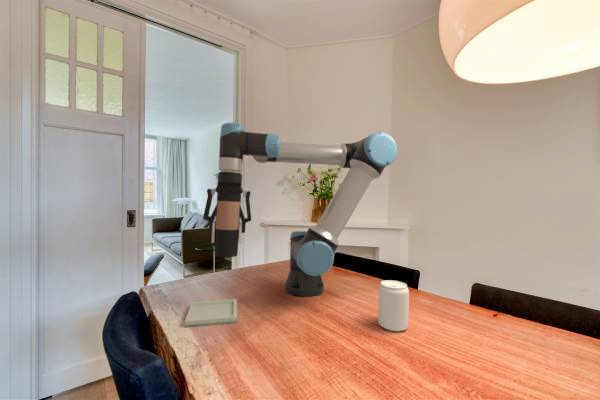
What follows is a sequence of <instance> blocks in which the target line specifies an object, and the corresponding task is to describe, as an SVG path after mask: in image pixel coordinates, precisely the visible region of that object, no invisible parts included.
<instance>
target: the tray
mask: <svg viewBox="0 0 600 400" xmlns="http://www.w3.org/2000/svg"><path fill="white" fill-rule="evenodd" d="M237 300H238V299H237V298H232V299H217V300H205V301H192V302H191V305H190V307H189V309H188V312H187V314H186V316H185V317H186V318H185V320H184V328H192V327H193V328H194V327H202V326H203V327H204V326H215V325H225V324H236V323H238V304H237V303H238V301H237Z"/></svg>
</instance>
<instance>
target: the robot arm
mask: <svg viewBox="0 0 600 400" xmlns="http://www.w3.org/2000/svg"><path fill="white" fill-rule="evenodd" d="M220 128H221V129H220V134H219V135H220V136H219V151H218V152H219V153H218V154H219V155H218V171H219V172H218V173H217V186H216V188H208V189H207V190H206V193H207V199H206V203H205V208H204V211H203V212H204V213H203V217H202V218H203V220H205V221H207V222H208V232H209V233H211V244H215V224H216V221H214V220H216V213H217V204H215V207H214V209H213V211H212V213H211V215H210V211H211V207H212V202H213V198H214V197H213V196H215V194H218V193H226V194H240V195H241V196H242V194H243V197H244V198H245V208H246V216H247V217H245V214H244V212H243V209H242V207H241V206H240V209H239V215H240V224H239V241H238V244H241V243H242V234H244V233H245V232H246V223H249V222H251V221H252V213H251V203H250V197H251V191H249V190H243V186H242V183H243V175H242V172H243V166H244V156H252V158H253V160H255V162H258V163H260V164H261V163H262V164H263V163H264V164H265V163H286V164H287V163H291V164H294V163H295V164H307V165H310V164H311V165H329V166H330V165H331V166H338V167H339V168H341V169H349V170H348V172H347V173H346V175H345V176H344V178H343V180H342V182H341V183H340V185H339V187H338V188H337V190H336V192H335V193H334V194H333V197H332V198H331V200H330V201H329V202H328V203H329V204H328V205H327V206H326V208H325V210H324V211H323V213H322V215H321V216H320V218H319V219H318V221H317V223H316V225H314V226H310V227H309V228H308V229H307V230H306V231H303V230H302V231H296V230H295V231H294V230H293V231H292V232H291V233H290V237H289V241H290V248H289V249H290V250H289V251H290V252H289V255H290V256H289V270H288V271H289V272H288V275H287V278H286V280H285V281H286V282H285V285H284V286H285V287H284V289H285V290H284V291H285V293H288V294H289V295H292V296H297V297H314V296H319V295H321V294H324V290H325V284H324V280H323V277H322V275H324V274H326V273H327V272H328V271H330V269H331V268H332V267H333V265H334V261H335V255H334V254H335V252H336V250H337V249H338V247H339V240H338V239H339V236H341V234H342V231H343V230H344V228H345V226H346V225H347V223H348V222H349V220H350V219H351V216H352V215H353V213H354V212H355V210H356V209H357V207H358V205H359V203H360V202H361V200H362V198H363V197H364V195H365V194H366V191H367V190H368V188H369V186H370V184H371V183H372V181H374V180H376V179H380V177H381V175H382V173H383V172H384V170H385V168H387V167H389V166H390V165H391V164H392V163H394V161H395V160H396V158H397V156H398V147H397V143H396V140H395V139H394V138H393V137H392V136H391V135H390V134H389V133H387V132H383V131H378V132H374V133H373V132H372V133H370V134H368V136H366V137H364V138H363V139H361V140H359V141H356V142H351V143H344V142H343V143H341V144H340V145H336V144H335V145H331V144H330V145H329V144H314V143H313V144H312V143H301V142H300V143H299V142H298V143H297V142H282V140H281V137H280V136H279V135H278V134H273V133H261V132H249V131H246V130H245V126H244V125H243V124H240V123H235V122H226V123H223V124H222V125H221V127H220Z"/></svg>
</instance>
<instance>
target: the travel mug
mask: <svg viewBox="0 0 600 400" xmlns="http://www.w3.org/2000/svg"><path fill="white" fill-rule="evenodd" d="M241 201H242V194H241V195H240V194H226V193H216V205H217V213H216V217H215V222H216V224H215V242H214V256H215V257H217V258H233V257H234V258H235V257H237V256H238V250H239V224H240V223H241V218H240V215H239V209H240V206H241V203H242V202H241Z"/></svg>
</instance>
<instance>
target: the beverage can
mask: <svg viewBox="0 0 600 400" xmlns="http://www.w3.org/2000/svg"><path fill="white" fill-rule="evenodd" d="M409 299H410V290H409V288H408V284H407V283H406V282H402V281H399V280H391V279H388V280H387V279H386V280H382V281H380V285H379V286H378V310H377V311H378V312H377V313H378V315H377V323H378V324H379V326H380V327H382V328H384V329H386V330H388V331H391V332H402V331H405V330H407V329H408V328H409V304H410V300H409Z"/></svg>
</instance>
